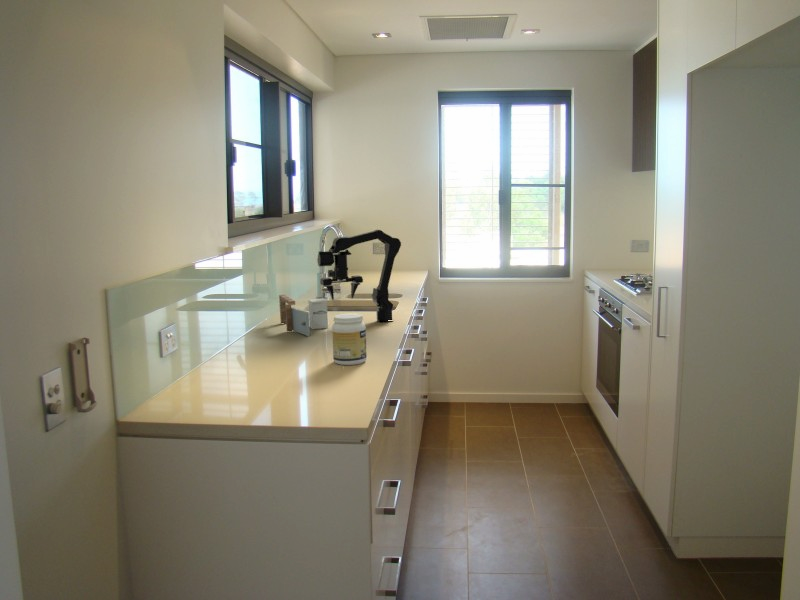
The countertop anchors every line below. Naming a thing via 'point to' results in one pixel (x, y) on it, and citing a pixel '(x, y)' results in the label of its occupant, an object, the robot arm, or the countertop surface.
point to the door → (300, 321)
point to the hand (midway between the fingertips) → (342, 299)
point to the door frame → (286, 311)
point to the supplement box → (318, 313)
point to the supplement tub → (349, 339)
